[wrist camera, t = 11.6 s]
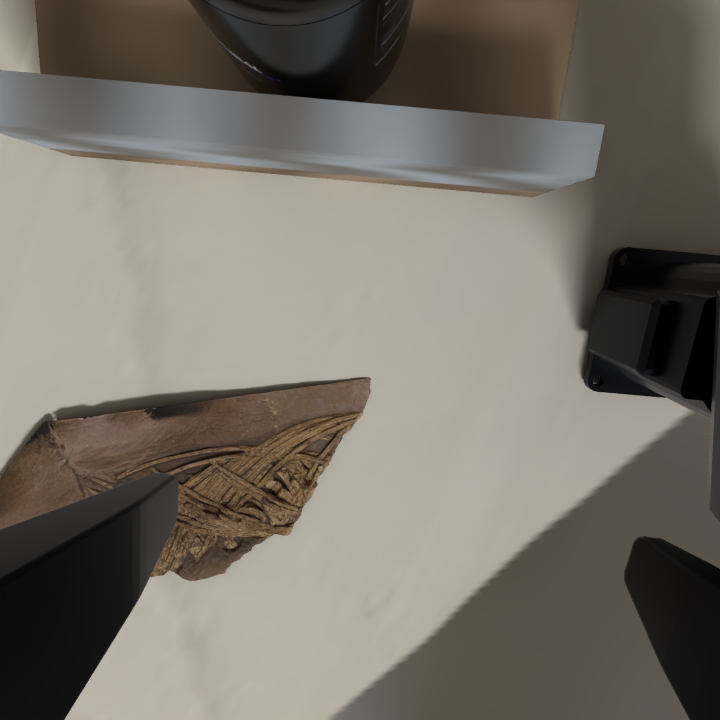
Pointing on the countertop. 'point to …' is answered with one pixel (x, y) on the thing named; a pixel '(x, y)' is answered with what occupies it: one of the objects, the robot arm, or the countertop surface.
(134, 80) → the cleat board
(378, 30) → the supplement bottle
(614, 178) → the countertop surface
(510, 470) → the countertop surface
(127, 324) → the countertop surface
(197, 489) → the wooden fragment
